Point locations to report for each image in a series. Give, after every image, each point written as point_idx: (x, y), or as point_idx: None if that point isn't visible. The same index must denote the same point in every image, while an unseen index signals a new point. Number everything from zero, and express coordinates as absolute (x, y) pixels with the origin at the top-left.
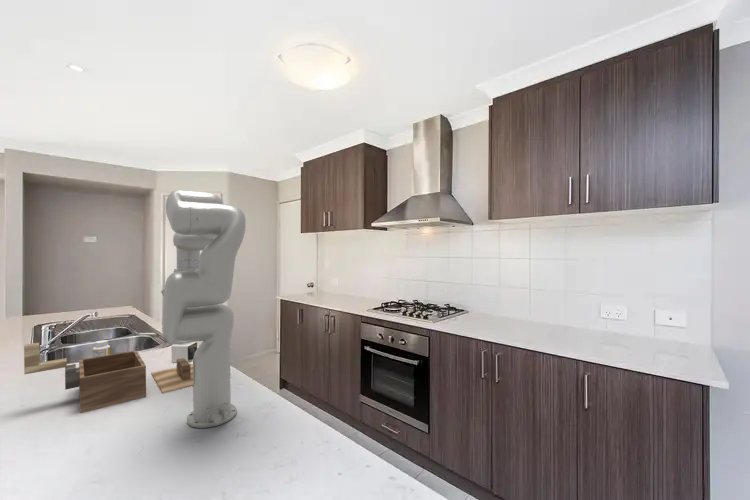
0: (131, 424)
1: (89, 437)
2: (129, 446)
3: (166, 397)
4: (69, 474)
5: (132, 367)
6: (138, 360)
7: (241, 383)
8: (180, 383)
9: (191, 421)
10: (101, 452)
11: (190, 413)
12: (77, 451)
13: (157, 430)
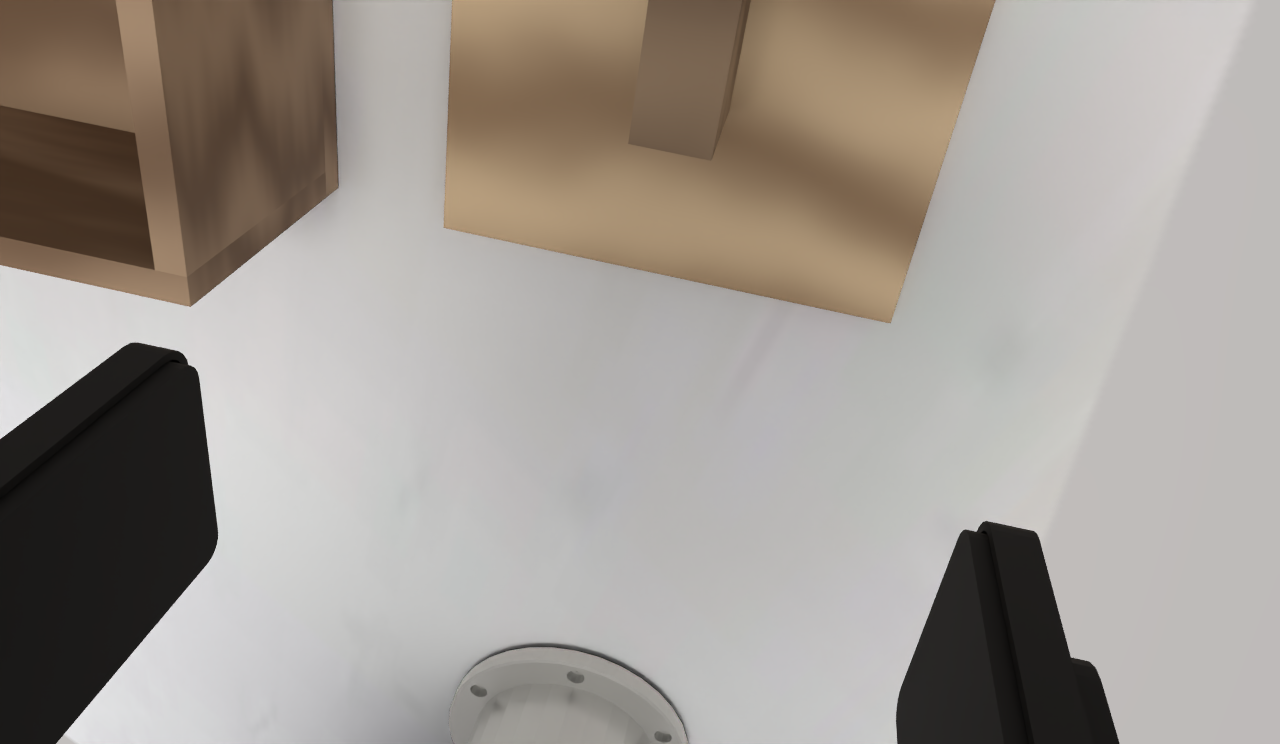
0: (238, 504)
1: None
2: (229, 665)
3: (455, 319)
4: None
5: (79, 254)
6: (121, 19)
7: (964, 526)
8: (612, 160)
9: (458, 738)
10: None
11: (479, 678)
12: None
13: (336, 643)
